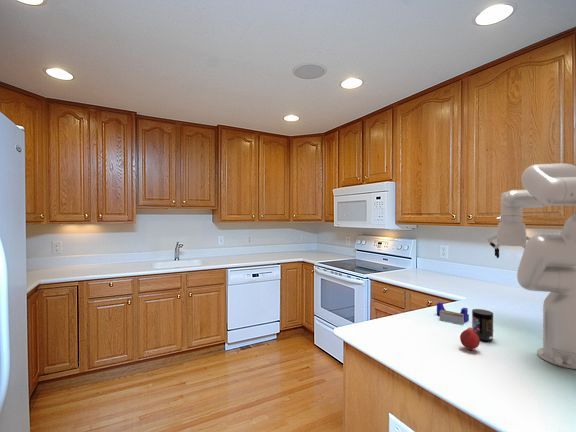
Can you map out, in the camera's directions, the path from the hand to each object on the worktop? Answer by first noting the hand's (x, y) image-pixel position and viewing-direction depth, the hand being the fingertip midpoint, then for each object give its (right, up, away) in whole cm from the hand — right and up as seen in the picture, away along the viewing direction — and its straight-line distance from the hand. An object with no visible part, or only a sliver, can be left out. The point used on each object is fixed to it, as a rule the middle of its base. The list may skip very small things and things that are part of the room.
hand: (511, 258), depth 126 cm
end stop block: (-25, -28, +2) cm, 38 cm away
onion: (-35, -28, -26) cm, 52 cm away
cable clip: (-22, -29, +6) cm, 37 cm away
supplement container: (-24, -28, -16) cm, 41 cm away
